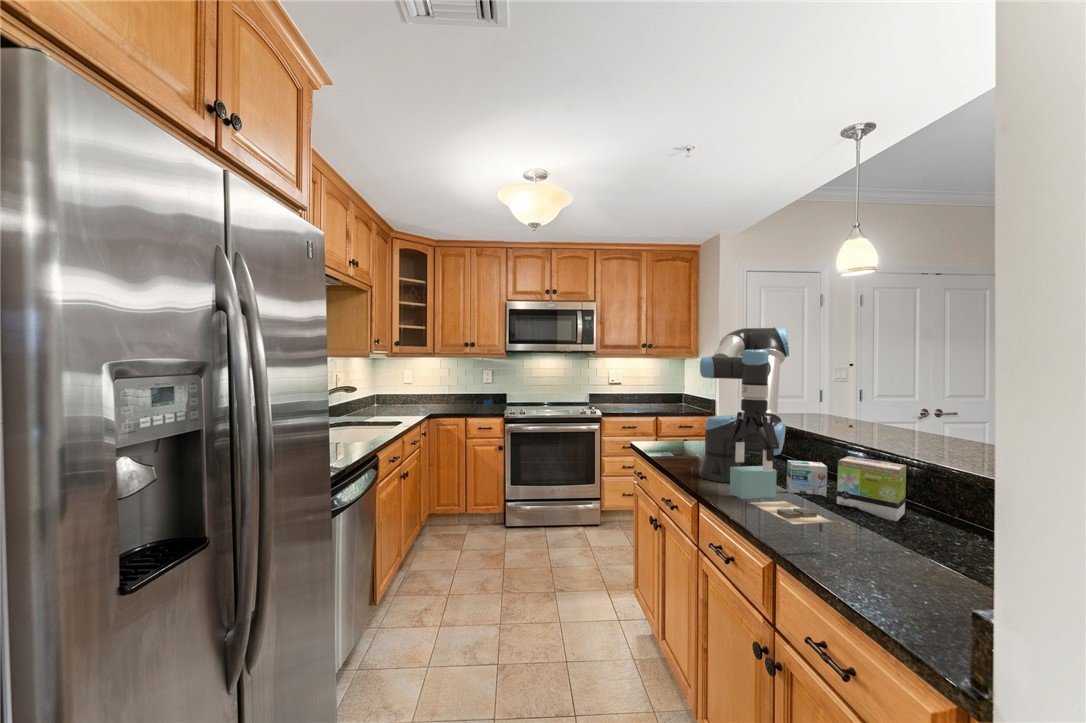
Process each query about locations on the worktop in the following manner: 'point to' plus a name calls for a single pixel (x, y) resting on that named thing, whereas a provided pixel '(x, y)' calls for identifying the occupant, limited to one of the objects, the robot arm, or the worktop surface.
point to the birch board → (773, 507)
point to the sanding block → (752, 482)
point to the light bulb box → (806, 477)
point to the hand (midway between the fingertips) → (753, 466)
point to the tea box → (872, 486)
